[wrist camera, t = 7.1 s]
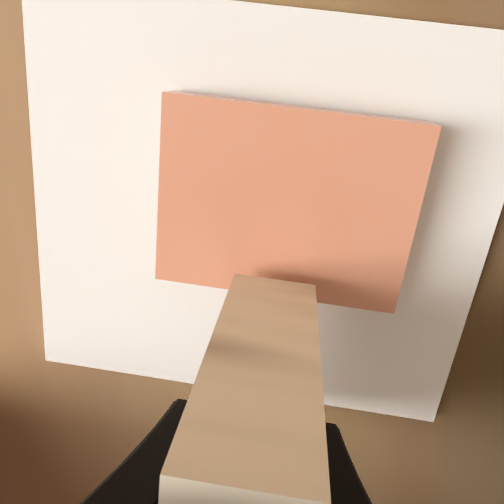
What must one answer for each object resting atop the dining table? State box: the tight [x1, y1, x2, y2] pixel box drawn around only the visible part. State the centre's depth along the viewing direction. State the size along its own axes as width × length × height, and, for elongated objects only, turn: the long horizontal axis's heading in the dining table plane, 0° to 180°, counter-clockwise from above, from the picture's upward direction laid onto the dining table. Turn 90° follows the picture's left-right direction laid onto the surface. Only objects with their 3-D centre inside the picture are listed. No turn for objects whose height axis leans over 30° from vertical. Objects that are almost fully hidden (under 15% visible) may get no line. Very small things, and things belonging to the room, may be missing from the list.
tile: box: [155, 90, 442, 314], centre depth 15 cm, size 2×8×6 cm
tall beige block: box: [158, 274, 331, 504], centre depth 11 cm, size 6×2×8 cm, turn 174°
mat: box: [22, 0, 504, 422], centre depth 17 cm, size 14×16×1 cm
